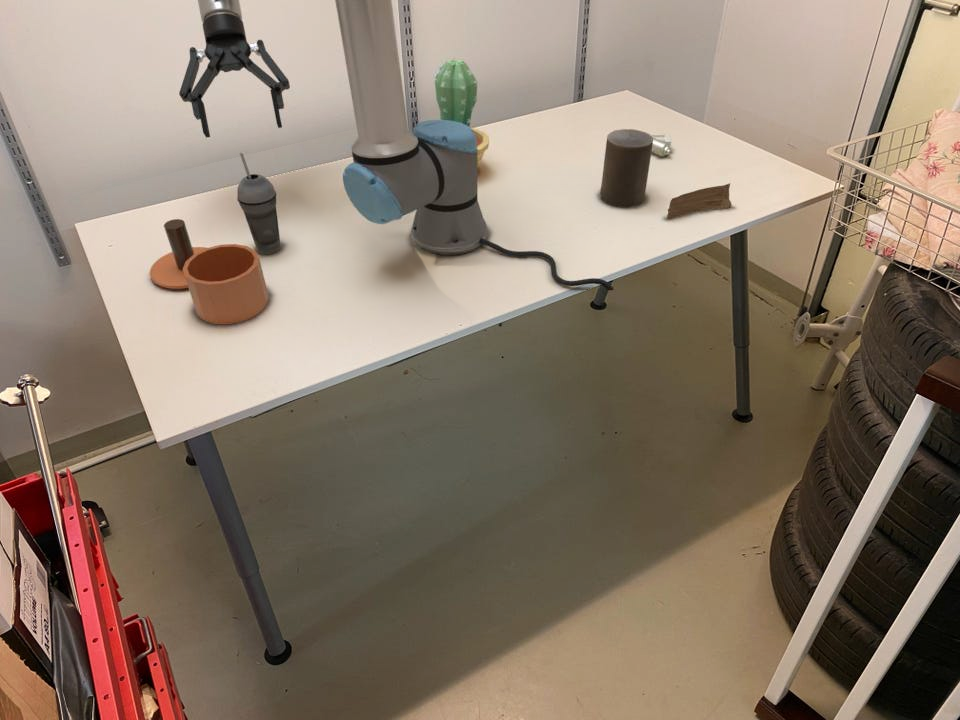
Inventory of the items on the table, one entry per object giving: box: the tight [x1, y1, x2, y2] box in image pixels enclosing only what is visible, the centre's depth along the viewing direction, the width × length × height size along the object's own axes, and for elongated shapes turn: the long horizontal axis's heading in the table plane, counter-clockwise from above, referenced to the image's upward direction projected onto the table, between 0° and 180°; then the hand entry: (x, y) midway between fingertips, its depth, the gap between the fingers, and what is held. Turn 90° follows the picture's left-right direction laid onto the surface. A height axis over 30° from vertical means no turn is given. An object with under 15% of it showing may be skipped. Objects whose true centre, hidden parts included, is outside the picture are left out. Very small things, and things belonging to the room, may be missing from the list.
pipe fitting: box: [650, 134, 672, 158], centre depth 176 cm, size 8×4×7 cm
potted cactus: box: [433, 58, 490, 167], centre depth 161 cm, size 15×15×25 cm
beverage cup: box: [236, 152, 281, 255], centre depth 138 cm, size 7×7×20 cm
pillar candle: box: [599, 128, 653, 208], centre depth 155 cm, size 10×10×15 cm
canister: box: [183, 243, 269, 325], centre depth 127 cm, size 13×13×8 cm
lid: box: [149, 218, 207, 290], centre depth 135 cm, size 14×14×10 cm
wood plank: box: [666, 183, 732, 220], centre depth 152 cm, size 15×2×5 cm, turn 113°
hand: (243, 130), depth 138 cm, fingers open, 13 cm apart
